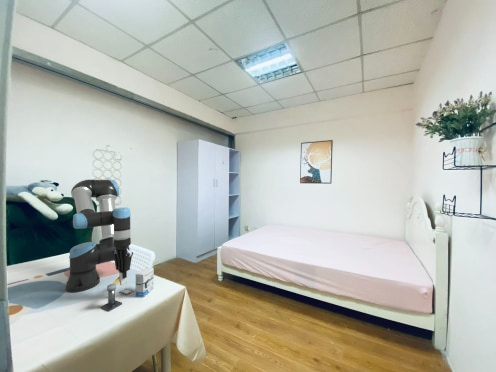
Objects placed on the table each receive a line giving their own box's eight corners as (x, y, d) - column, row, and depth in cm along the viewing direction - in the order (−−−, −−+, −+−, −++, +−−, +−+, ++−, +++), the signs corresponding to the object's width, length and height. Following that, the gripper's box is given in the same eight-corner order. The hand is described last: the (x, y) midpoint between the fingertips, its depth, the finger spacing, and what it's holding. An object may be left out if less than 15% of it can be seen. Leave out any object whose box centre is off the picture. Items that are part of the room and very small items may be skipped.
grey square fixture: (101, 308, 96) (100, 291, 95) (113, 301, 101) (113, 285, 101) (109, 311, 93) (109, 294, 93) (122, 304, 99) (121, 287, 98)
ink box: (143, 297, 105) (143, 274, 104) (135, 296, 106) (134, 273, 105) (154, 288, 113) (154, 267, 113) (146, 288, 114) (146, 267, 114)
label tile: (119, 293, 109) (119, 291, 109) (126, 289, 112) (126, 288, 112) (126, 295, 106) (126, 294, 106) (133, 291, 110) (133, 290, 110)
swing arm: (105, 291, 95) (105, 287, 95) (121, 274, 112) (121, 271, 112) (114, 291, 95) (114, 286, 95) (128, 274, 113) (128, 270, 113)
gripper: (137, 237, 106) (138, 282, 106) (121, 235, 111) (121, 278, 111) (123, 241, 99) (124, 289, 99) (106, 238, 104) (107, 285, 104)
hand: (123, 284), depth 105 cm, fingers closed
